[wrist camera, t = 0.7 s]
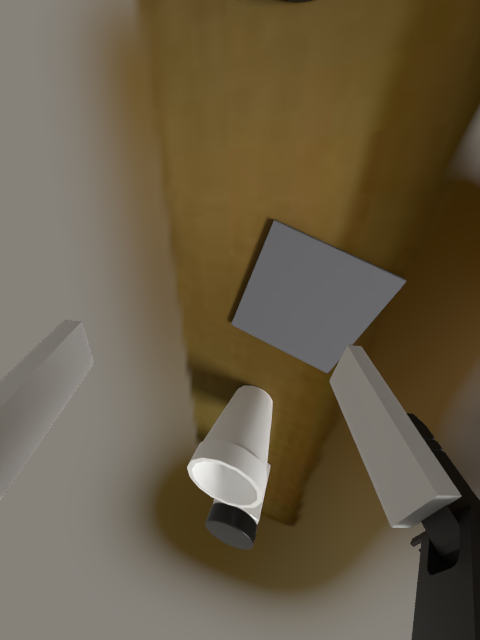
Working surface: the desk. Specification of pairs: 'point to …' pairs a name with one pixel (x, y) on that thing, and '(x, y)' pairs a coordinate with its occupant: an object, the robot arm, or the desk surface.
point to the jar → (234, 522)
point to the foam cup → (236, 451)
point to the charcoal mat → (311, 297)
